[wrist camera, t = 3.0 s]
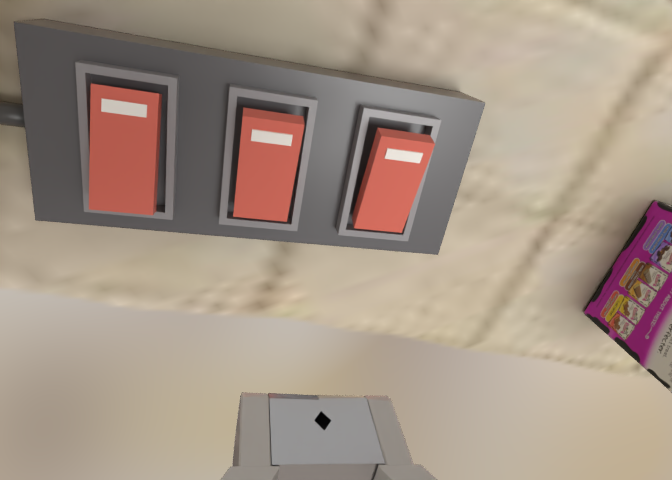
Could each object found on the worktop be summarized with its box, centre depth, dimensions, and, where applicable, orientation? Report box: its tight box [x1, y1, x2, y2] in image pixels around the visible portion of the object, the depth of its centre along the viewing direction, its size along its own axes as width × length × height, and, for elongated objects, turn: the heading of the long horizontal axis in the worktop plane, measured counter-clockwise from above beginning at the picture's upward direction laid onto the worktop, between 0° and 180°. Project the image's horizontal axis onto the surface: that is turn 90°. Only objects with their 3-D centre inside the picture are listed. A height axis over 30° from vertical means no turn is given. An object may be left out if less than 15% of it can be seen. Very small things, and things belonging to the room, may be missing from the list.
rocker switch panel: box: [0, 19, 485, 255], centre depth 27 cm, size 28×10×4 cm, turn 80°
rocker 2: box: [233, 107, 305, 222], centre depth 25 cm, size 3×6×1 cm, turn 169°
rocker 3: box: [352, 128, 435, 233], centre depth 26 cm, size 3×6×1 cm, turn 169°
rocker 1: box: [89, 84, 162, 215], centre depth 23 cm, size 3×6×1 cm, turn 169°
